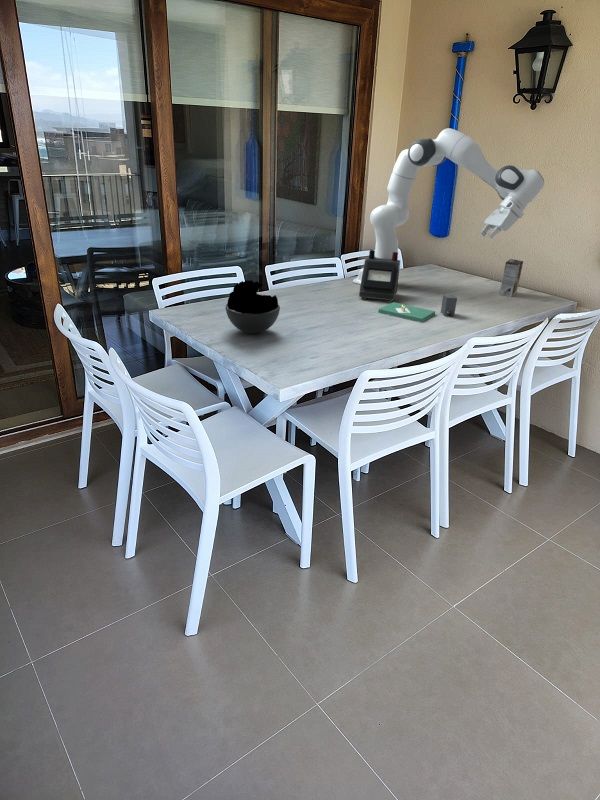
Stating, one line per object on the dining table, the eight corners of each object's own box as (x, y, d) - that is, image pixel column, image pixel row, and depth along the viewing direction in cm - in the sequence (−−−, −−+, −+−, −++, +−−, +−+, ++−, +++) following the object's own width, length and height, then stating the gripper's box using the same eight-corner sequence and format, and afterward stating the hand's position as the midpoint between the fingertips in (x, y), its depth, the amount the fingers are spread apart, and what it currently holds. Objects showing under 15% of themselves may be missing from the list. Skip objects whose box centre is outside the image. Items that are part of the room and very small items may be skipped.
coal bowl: (257, 320, 217) (257, 273, 209) (290, 334, 204) (291, 284, 195) (215, 329, 205) (214, 280, 196) (247, 345, 192) (246, 292, 183)
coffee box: (503, 291, 273) (510, 258, 266) (516, 293, 270) (524, 260, 263) (498, 294, 267) (505, 261, 259) (511, 297, 263) (519, 263, 256)
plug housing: (440, 312, 236) (443, 294, 232) (450, 312, 236) (453, 294, 233) (444, 316, 231) (447, 297, 228) (454, 316, 232) (457, 298, 228)
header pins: (402, 311, 229) (403, 307, 228) (400, 309, 233) (401, 304, 232) (405, 311, 229) (405, 307, 229) (402, 309, 233) (403, 304, 232)
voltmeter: (358, 299, 249) (362, 255, 241) (363, 291, 264) (367, 249, 255) (393, 303, 246) (398, 259, 237) (396, 294, 261) (401, 252, 252)
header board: (378, 312, 233) (378, 308, 232) (393, 305, 243) (393, 301, 242) (421, 322, 222) (421, 318, 222) (434, 314, 233) (435, 310, 232)
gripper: (496, 202, 228) (472, 229, 232) (514, 204, 209) (488, 233, 213) (506, 212, 230) (482, 238, 234) (525, 215, 211) (499, 243, 215)
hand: (485, 236), depth 223 cm, fingers open, 8 cm apart
